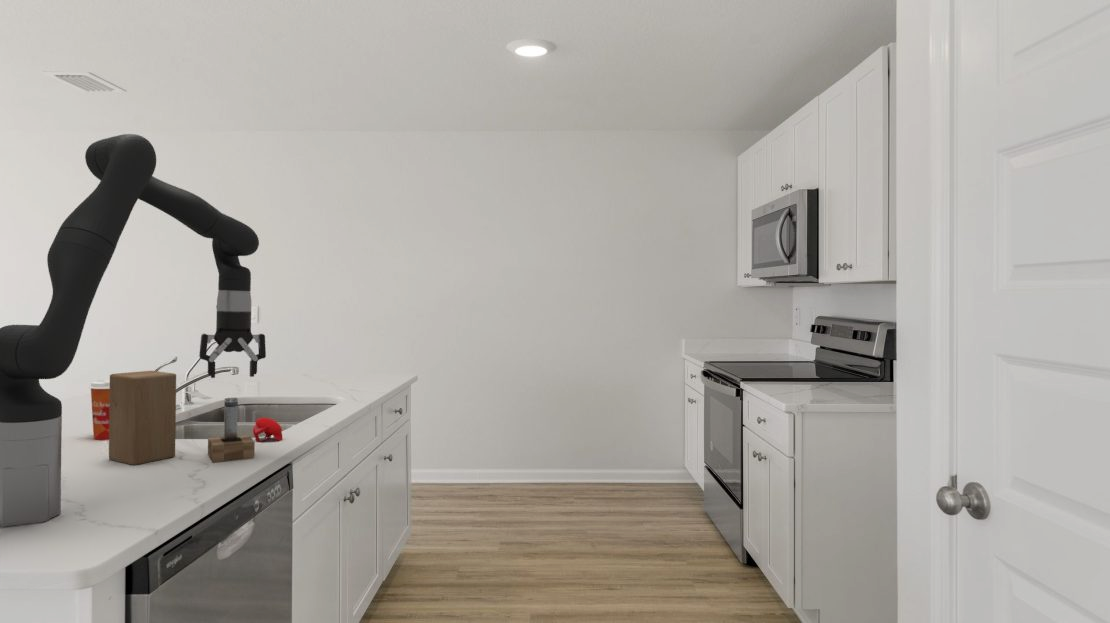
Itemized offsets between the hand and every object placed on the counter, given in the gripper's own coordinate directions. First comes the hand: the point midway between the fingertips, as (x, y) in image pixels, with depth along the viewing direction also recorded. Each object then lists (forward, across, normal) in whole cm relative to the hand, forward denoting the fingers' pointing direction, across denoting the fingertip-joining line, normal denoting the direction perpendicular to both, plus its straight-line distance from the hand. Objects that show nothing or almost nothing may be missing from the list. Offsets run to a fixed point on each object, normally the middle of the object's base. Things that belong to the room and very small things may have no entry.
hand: (232, 377), depth 161 cm
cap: (+19, +11, +15) cm, 27 cm away
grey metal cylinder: (+19, 0, 0) cm, 19 cm away
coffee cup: (+19, -25, +36) cm, 48 cm away
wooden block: (+20, -18, +7) cm, 27 cm away
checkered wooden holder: (+19, 0, 0) cm, 19 cm away
